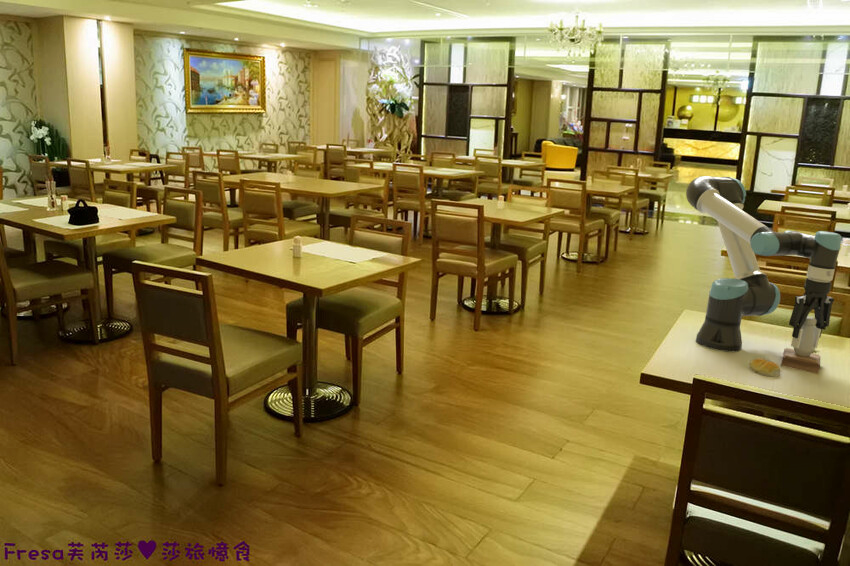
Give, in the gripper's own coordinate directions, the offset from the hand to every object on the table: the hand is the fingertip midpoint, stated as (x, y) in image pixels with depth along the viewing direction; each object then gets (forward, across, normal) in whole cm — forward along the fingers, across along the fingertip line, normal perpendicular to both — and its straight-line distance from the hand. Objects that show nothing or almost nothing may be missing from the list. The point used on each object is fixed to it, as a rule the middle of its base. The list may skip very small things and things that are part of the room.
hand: (803, 346), depth 233 cm
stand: (+6, 0, 0) cm, 6 cm away
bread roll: (+7, -18, -5) cm, 20 cm away
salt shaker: (+3, 0, 0) cm, 3 cm away
